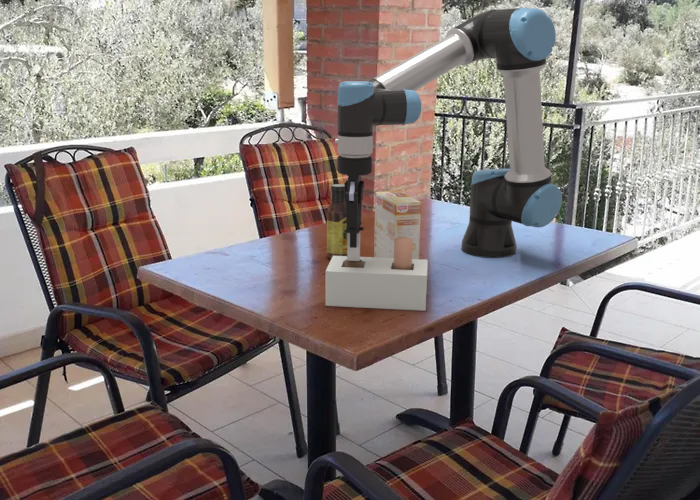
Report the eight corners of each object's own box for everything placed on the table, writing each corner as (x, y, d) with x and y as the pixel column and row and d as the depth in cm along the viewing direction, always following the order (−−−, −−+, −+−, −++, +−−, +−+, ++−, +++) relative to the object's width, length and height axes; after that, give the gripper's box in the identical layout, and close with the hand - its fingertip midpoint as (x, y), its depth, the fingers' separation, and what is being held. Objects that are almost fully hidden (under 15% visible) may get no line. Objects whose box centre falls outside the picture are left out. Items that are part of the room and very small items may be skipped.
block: (426, 292, 165) (427, 259, 163) (425, 310, 154) (427, 275, 152) (332, 288, 168) (333, 255, 166) (325, 305, 156) (325, 271, 154)
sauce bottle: (347, 261, 188) (347, 188, 183) (324, 260, 189) (324, 187, 184) (352, 255, 194) (352, 183, 189) (329, 253, 196) (329, 182, 190)
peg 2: (411, 271, 160) (412, 237, 158) (411, 277, 156) (412, 242, 154) (393, 270, 161) (394, 236, 159) (392, 276, 157) (393, 241, 155)
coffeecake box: (419, 279, 175) (422, 201, 169) (392, 281, 173) (394, 203, 167) (398, 262, 189) (400, 190, 183) (372, 264, 187) (374, 191, 181)
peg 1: (362, 292, 163) (363, 258, 161) (361, 298, 159) (361, 264, 157) (345, 291, 163) (345, 258, 161) (343, 297, 160) (343, 263, 157)
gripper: (341, 150, 159) (340, 251, 166) (333, 159, 147) (333, 267, 153) (374, 151, 158) (372, 252, 165) (369, 160, 146) (367, 269, 152)
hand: (353, 259), depth 159 cm, fingers closed
